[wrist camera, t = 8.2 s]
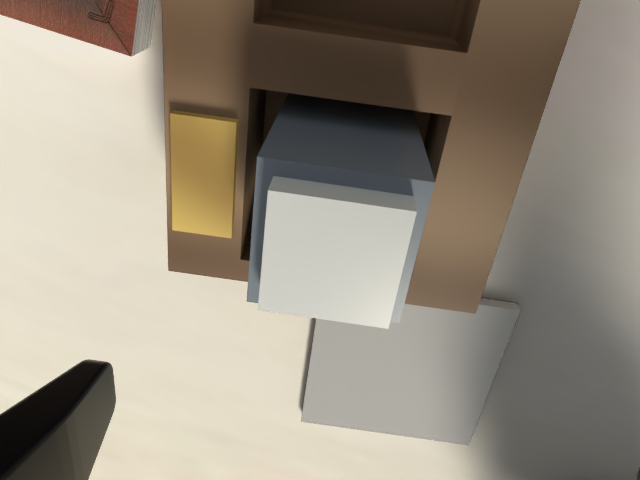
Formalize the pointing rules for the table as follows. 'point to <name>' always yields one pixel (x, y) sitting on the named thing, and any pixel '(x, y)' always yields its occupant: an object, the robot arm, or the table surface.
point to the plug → (338, 211)
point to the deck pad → (409, 371)
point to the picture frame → (90, 20)
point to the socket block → (361, 87)
